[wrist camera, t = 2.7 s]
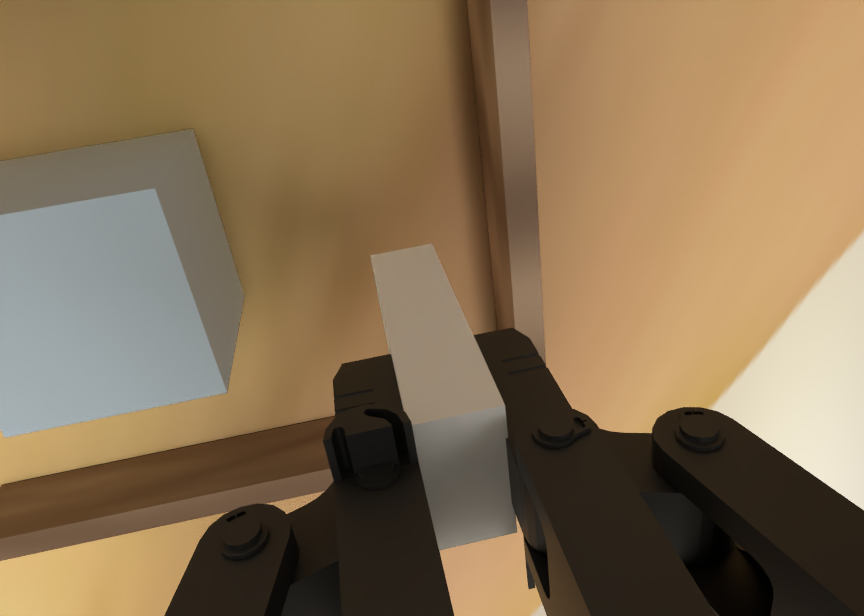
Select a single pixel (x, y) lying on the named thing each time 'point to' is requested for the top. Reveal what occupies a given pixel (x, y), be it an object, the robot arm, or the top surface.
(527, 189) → the brown flat u-shaped frame
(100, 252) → the cube
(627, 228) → the top surface
